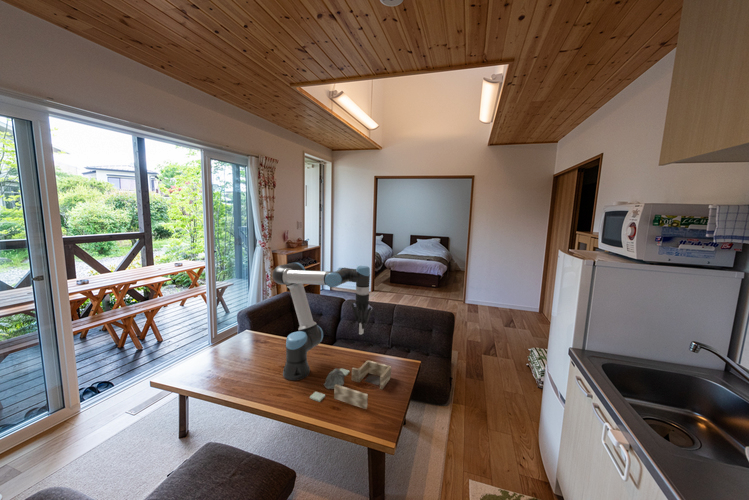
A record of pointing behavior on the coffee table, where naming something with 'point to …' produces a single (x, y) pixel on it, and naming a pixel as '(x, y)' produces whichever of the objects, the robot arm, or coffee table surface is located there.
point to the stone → (334, 379)
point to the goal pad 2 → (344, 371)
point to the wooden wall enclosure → (358, 374)
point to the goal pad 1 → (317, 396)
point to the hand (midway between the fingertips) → (361, 333)
